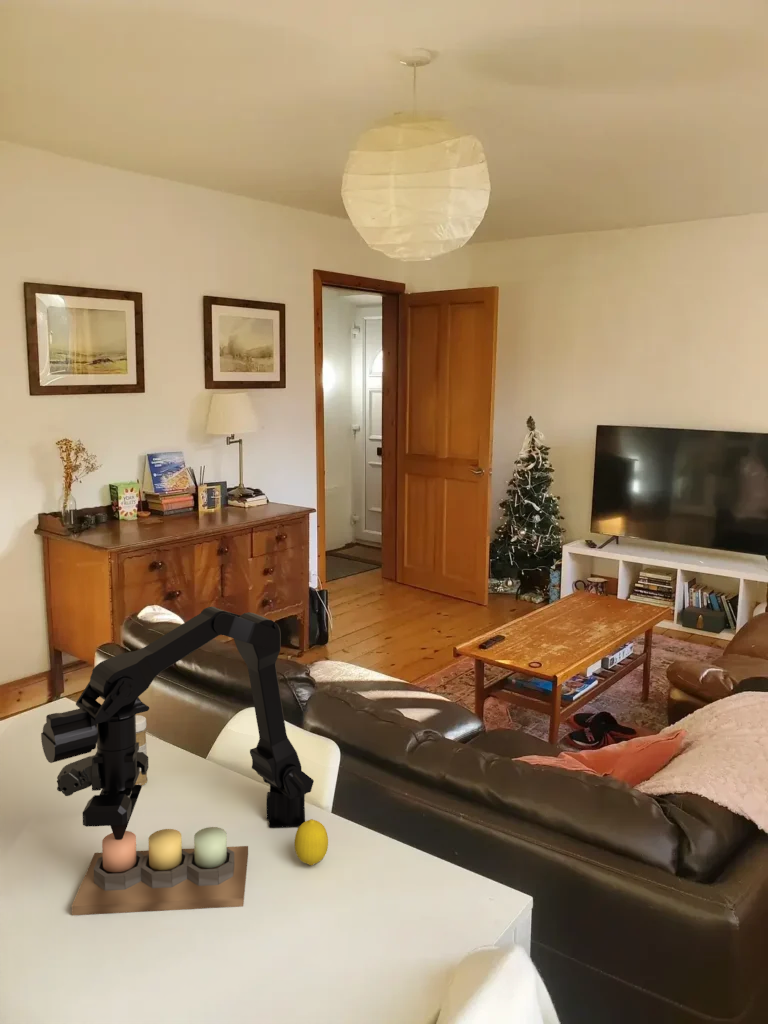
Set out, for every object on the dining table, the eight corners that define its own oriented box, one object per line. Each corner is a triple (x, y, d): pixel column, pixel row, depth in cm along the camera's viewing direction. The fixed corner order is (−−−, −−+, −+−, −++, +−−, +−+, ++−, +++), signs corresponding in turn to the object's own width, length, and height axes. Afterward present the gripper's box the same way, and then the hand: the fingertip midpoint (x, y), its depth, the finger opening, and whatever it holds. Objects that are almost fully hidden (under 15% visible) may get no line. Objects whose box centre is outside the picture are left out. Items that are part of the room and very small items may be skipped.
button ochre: (183, 851, 128) (183, 828, 127) (179, 869, 123) (179, 845, 122) (152, 852, 127) (151, 829, 126) (146, 871, 122) (145, 846, 122)
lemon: (322, 876, 128) (323, 830, 127) (289, 872, 129) (290, 826, 128) (331, 858, 133) (332, 813, 132) (300, 853, 134) (300, 809, 133)
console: (248, 854, 134) (248, 833, 133) (243, 906, 120) (243, 883, 119) (94, 861, 131) (94, 839, 130) (71, 915, 117) (71, 891, 116)
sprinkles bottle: (142, 775, 161) (140, 712, 159) (151, 784, 157) (150, 719, 155) (120, 782, 158) (118, 717, 156) (128, 791, 154) (127, 725, 152)
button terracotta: (139, 853, 127) (138, 830, 126) (133, 871, 122) (132, 847, 121) (106, 854, 126) (106, 831, 126) (99, 873, 121) (98, 848, 121)
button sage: (227, 849, 128) (227, 826, 128) (225, 867, 124) (225, 843, 123) (196, 850, 128) (196, 827, 127) (192, 868, 123) (192, 844, 122)
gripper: (78, 720, 130) (81, 810, 132) (43, 773, 111) (47, 876, 113) (148, 718, 131) (150, 807, 133) (124, 770, 113) (127, 872, 115)
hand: (119, 838), depth 123 cm, fingers closed
